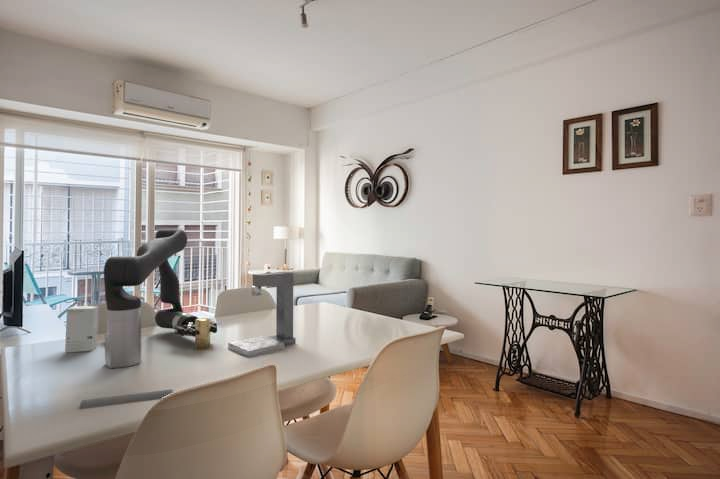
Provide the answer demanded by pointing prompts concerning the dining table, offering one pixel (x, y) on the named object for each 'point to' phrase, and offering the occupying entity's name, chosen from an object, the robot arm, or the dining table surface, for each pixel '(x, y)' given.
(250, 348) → the press
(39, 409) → the dining table surface
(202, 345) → the cylinder
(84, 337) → the skincare box
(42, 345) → the dining table surface
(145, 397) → the half round rod
